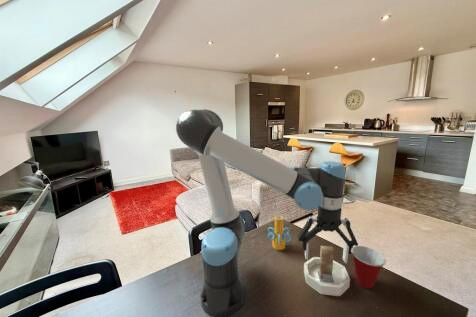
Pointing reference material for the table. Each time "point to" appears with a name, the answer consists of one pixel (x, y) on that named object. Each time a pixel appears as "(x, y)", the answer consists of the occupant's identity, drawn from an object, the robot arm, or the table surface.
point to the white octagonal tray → (326, 278)
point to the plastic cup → (367, 265)
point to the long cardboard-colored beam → (326, 260)
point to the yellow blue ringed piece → (278, 234)
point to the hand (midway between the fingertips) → (325, 259)
